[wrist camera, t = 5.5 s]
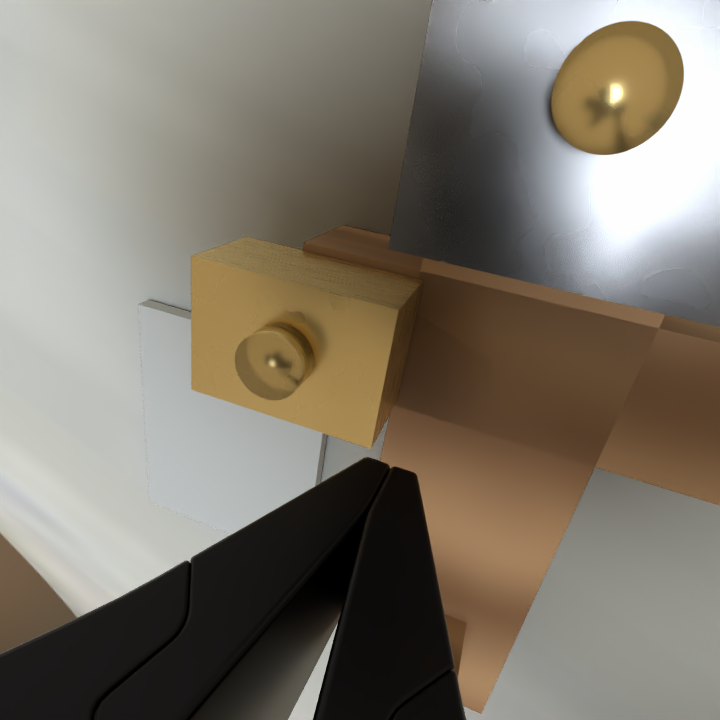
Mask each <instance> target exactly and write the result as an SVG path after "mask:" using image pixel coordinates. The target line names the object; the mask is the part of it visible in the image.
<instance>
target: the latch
mask: <svg viewBox="0 0 720 720" xmlns="http://www.w3.org/2000/svg"><path fill="white" fill-rule="evenodd" d="M422 284H423V280H421V279H417V278H413V277H408V276H404V275H400V274H396V273H392V272H388V271H384V270H380V269H376V268H372V267H368V266H364V265H360V264H355V263H351V262H347V261H343V260H339V259H335V258H331V257H327V256H323V255H319V254H315V253H311V252H307V251H302V250H298V249H294V248H290V247H286V246H282V245H278V244H274V243H270V242H266V241H262V240H258V239H254V238H249V237H245V238H242V239H239V240H236V241H233V242H230V243H227V244H224V245H221V246H218V247H215V248H212V249H210V250H207V251H204V252H201V253H198V254H195V255H192V256H191V390H194V391H197V392H200V393H203V394H206V395H209V396H212V397H215V398H218V399H221V400H224V401H227V402H230V403H233V404H236V405H239V406H242V407H245V408H248V409H251V410H255V411H258V412H261V413H264V414H267V415H270V416H273V417H276V418H279V419H282V420H285V421H288V422H291V423H294V424H297V425H300V426H303V427H306V428H309V429H312V430H315V431H318V432H321V433H324V434H327V435H330V436H333V437H336V438H339V439H342V440H345V441H348V442H351V443H354V444H357V445H360V446H364V447H367V448H370V449H371V448H372V446H373V444H374V442H375V440H376V439H377V437H378V435H379V433H380V431H381V429H382V428H383V426H384V424H385V422H386V420H387V419H388V417H389V415H390V413H391V411H392V409H393V408H394V406H395V404H396V402H397V399H398V394H399V390H400V385H401V381H402V376H403V371H404V367H405V362H406V358H407V353H408V348H409V344H410V339H411V335H412V330H413V325H414V321H415V316H416V311H417V307H418V302H419V298H420V293H421V288H422Z"/></svg>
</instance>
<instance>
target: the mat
mask: <svg viewBox="0 0 720 720" xmlns="http://www.w3.org/2000/svg"><path fill="white" fill-rule="evenodd" d="M138 311H139V329H140V348H141V367H142V385H143V404H144V423H145V441H146V460H147V479H148V497H149V503H152V504H154V505H157V506H159V507H162V508H164V509H167V510H169V511H172V512H174V513H177V514H179V515H182V516H184V517H187V518H189V519H192V520H195V521H197V522H200V523H202V524H205V525H207V526H210V527H212V528H215V529H217V530H220V531H222V532H225V533H227V534H230V535H231V534H233V533H235V532H237V531H238V530H240V529H242V528H244V527H245V526H247V525H249V524H250V523H252V522H254V521H256V520H257V519H259V518H261V517H263V516H264V515H266V514H268V513H270V512H271V511H273V510H275V509H276V508H278V507H280V506H282V505H283V504H285V503H287V502H289V501H290V500H292V499H294V498H296V497H297V496H299V495H301V494H303V493H304V492H306V491H308V490H309V489H311V488H313V487H315V486H316V485H318V484H320V480H321V473H322V467H323V460H324V453H325V446H326V440H327V434H324V433H321V432H318V431H315V430H312V429H309V428H306V427H303V426H300V425H297V424H294V423H291V422H288V421H285V420H282V419H279V418H276V417H273V416H270V415H267V414H264V413H261V412H258V411H255V410H251V409H248V408H245V407H242V406H239V405H236V404H233V403H230V402H227V401H224V400H221V399H218V398H215V397H212V396H209V395H206V394H203V393H200V392H197V391H194V390H191V312H189V311H185V310H182V309H179V308H175V307H172V306H168V305H165V304H161V303H158V302H154V301H151V300H147V301H145V302H143V303H140V304H138Z"/></svg>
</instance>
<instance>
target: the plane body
mask: <svg viewBox="0 0 720 720" xmlns="http://www.w3.org/2000/svg"><path fill="white" fill-rule="evenodd" d="M389 240H390V236H388V235H384V234H379V233H375V232H371V231H366V230H362V229H357V228H353V227H349V226H344V225H342V226H340V227H338V228H336V229H333V230H331V231H329V232H327V233H324V234H322V235H320V236H318V237H315V238H313V239H311V240H309V241H307V242H304V246H303V251H307V252H311V253H315V254H319V255H323V256H327V257H331V258H335V259H339V260H343V261H347V262H351V263H355V264H360V265H364V266H368V267H372V268H376V269H380V270H384V271H388V272H392V273H396V274H400V275H404V276H408V277H413V278H417V279H421V280H423V284H422V288H421V293H420V298H419V302H418V307H417V311H416V316H415V321H414V325H413V330H412V335H411V339H410V344H409V348H408V353H407V358H406V362H405V367H404V371H403V376H402V381H401V385H400V390H399V394H398V399H397V402H396V404H395V406H394V408H393V409H392V411H391V413H390V416H389V420H388V425H387V430H386V434H385V439H384V444H383V448H382V453H381V458H380V461H381V462H384V463H387V464H389V466H390V468H392V467H394V466H396V467H399V468H402V469H405V470H408V471H411V472H414V473H416V475H417V477H418V481H419V486H420V491H421V496H422V501H423V507H424V512H425V517H426V522H427V527H428V532H429V537H430V542H431V547H432V552H433V557H434V562H435V567H436V573H437V578H438V583H439V588H440V593H441V598H442V603H443V608H444V613H445V618H446V623H447V628H448V633H449V638H450V644H451V649H452V654H453V659H454V664H455V669H454V672H455V673H456V674H457V677H458V683H459V688H460V693H461V698H462V703H463V706H464V707H467V708H469V709H471V710H474V711H476V712H478V713H482V711H483V709H484V707H485V705H486V702H487V700H488V698H489V696H490V694H491V692H492V689H493V687H494V685H495V683H496V681H497V679H498V676H499V674H500V672H501V670H502V668H503V666H504V663H505V661H506V659H507V657H508V655H509V652H510V650H511V648H512V646H513V644H514V642H515V639H516V637H517V635H518V633H519V631H520V629H521V626H522V624H523V622H524V620H525V618H526V616H527V613H528V611H529V609H530V607H531V605H532V603H533V600H534V598H535V596H536V594H537V592H538V590H539V587H540V585H541V583H542V581H543V579H544V577H545V574H546V572H547V570H548V568H549V566H550V564H551V561H552V559H553V557H554V555H555V553H556V551H557V548H558V546H559V544H560V542H561V540H562V538H563V535H564V533H565V531H566V529H567V527H568V524H569V522H570V520H571V518H572V516H573V514H574V511H575V509H576V507H577V505H578V503H579V501H580V498H581V496H582V494H583V492H584V490H585V488H586V485H587V483H588V481H589V479H590V477H591V475H592V472H593V470H594V468H595V467H596V468H599V469H603V470H606V471H609V472H612V473H616V474H619V475H622V476H626V477H629V478H632V479H635V480H639V481H642V482H645V483H648V484H652V485H655V486H658V487H661V488H665V489H668V490H671V491H674V492H678V493H681V494H684V495H688V496H691V497H694V498H697V499H701V500H704V501H707V502H710V503H714V504H717V505H720V327H717V326H712V325H708V324H704V323H700V322H695V321H691V320H687V319H683V318H678V317H674V316H670V315H666V314H661V313H657V312H653V311H649V310H644V309H640V308H636V307H632V306H627V305H623V304H619V303H615V302H610V301H606V300H602V299H597V298H593V297H589V296H585V295H580V294H576V293H572V292H568V291H563V290H559V289H555V288H551V287H546V286H542V285H538V284H534V283H529V282H525V281H521V280H517V279H512V278H508V277H504V276H500V275H495V274H491V273H487V272H483V271H478V270H474V269H470V268H466V267H461V266H457V265H453V264H449V263H444V262H440V261H436V260H431V259H427V258H423V257H419V256H414V255H410V254H406V253H402V252H397V251H393V250H389V249H388V246H389Z"/></svg>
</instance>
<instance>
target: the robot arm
mask: <svg viewBox="0 0 720 720" xmlns="http://www.w3.org/2000/svg"><path fill="white" fill-rule="evenodd" d="M337 623H338V625H337ZM336 625H337V629H336V633H335V636H334V640H333V644H332V648H331V652H330V656H329V660H328V664H327V667H326V671H325V675H324V679H323V683H322V687H321V691H320V694H319V698H318V702H317V706H316V710H315V714H314V718H313V720H466V716H465V712H464V708H463V703H462V698H461V693H460V688H459V683H458V677H457V674H456V673H455V672H454V669H455V664H454V659H453V654H452V649H451V644H450V638H449V633H448V628H447V623H446V618H445V613H444V608H443V603H442V598H441V593H440V588H439V583H438V578H437V573H436V567H435V562H434V557H433V552H432V547H431V542H430V537H429V532H428V527H427V522H426V517H425V512H424V507H423V501H422V496H421V491H420V486H419V481H418V477H417V475H416V473H414V472H411V471H408V470H405V469H402V468H399V467H396V466H394V467H392V468H390V466H389V464H387V463H384V462H381V461H378V460H375V459H372V458H369V457H366V458H363V459H361V460H360V461H358V462H356V463H355V464H353V465H351V466H349V467H348V468H346V469H344V470H342V471H341V472H339V473H337V474H335V475H334V476H332V477H330V478H329V479H327V480H325V481H323V482H322V483H320V484H318V485H316V486H315V487H313V488H311V489H309V490H308V491H306V492H304V493H303V494H301V495H299V496H297V497H296V498H294V499H292V500H290V501H289V502H287V503H285V504H283V505H282V506H280V507H278V508H276V509H275V510H273V511H271V512H270V513H268V514H266V515H264V516H263V517H261V518H259V519H257V520H256V521H254V522H252V523H250V524H249V525H247V526H245V527H244V528H242V529H240V530H238V531H237V532H235V533H233V534H231V535H230V536H228V537H226V538H224V539H223V540H221V541H219V542H218V543H216V544H214V545H212V546H211V547H209V548H207V549H205V550H204V551H202V552H200V553H198V554H197V555H195V556H193V557H192V558H191V562H189V561H184V562H182V563H181V564H179V565H177V566H175V567H174V568H172V569H170V570H169V571H167V572H165V573H163V574H162V575H160V576H158V577H156V578H154V579H152V580H151V581H149V582H147V583H145V584H143V585H141V586H140V587H138V588H136V589H134V590H132V591H130V592H129V593H127V594H125V595H123V596H121V597H119V598H117V599H115V600H113V601H111V602H109V603H107V604H105V605H103V606H101V607H99V608H97V609H95V610H93V611H91V612H89V613H86V614H84V615H82V616H80V617H78V618H76V619H74V620H72V621H70V622H68V623H66V624H64V625H61V626H59V627H57V628H55V629H53V630H51V631H48V632H46V633H44V634H42V635H40V636H38V637H35V638H33V639H31V640H29V641H27V642H25V643H23V644H20V645H18V646H16V647H14V648H12V649H9V650H7V651H5V652H3V653H1V654H0V720H288V718H289V716H290V714H291V712H292V710H293V708H294V706H295V704H296V702H297V701H298V699H299V697H300V695H301V693H302V691H303V689H304V687H305V685H306V683H307V681H308V679H309V677H310V675H311V673H312V671H313V669H314V667H315V665H316V664H317V662H318V660H319V658H320V656H321V654H322V652H323V650H324V648H325V646H326V644H327V642H328V640H329V638H330V636H331V634H332V632H333V630H334V628H335V627H336Z"/></svg>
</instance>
